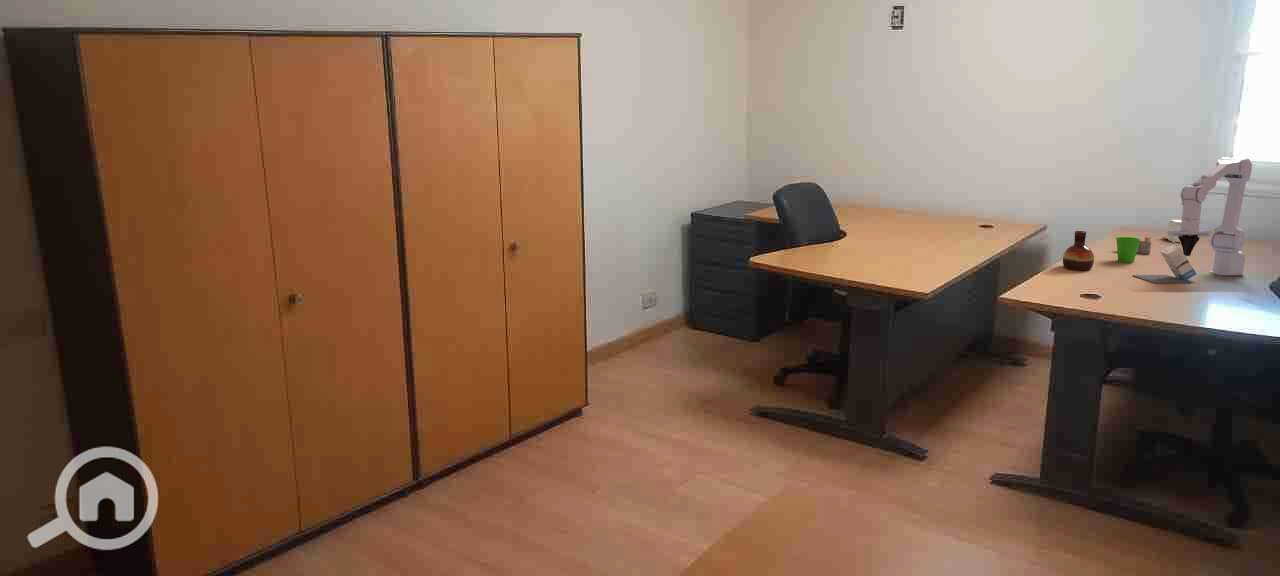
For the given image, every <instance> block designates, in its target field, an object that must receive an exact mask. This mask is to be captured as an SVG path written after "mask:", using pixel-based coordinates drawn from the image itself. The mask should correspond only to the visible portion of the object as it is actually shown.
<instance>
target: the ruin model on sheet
mask: <svg viewBox="0 0 1280 576" xmlns="http://www.w3.org/2000/svg"><path fill="white" fill-rule="evenodd" d="M1151 239H1152V237H1151V236H1145V237H1144V240H1140V241H1139V245H1138V248H1137V252H1136V254H1141V255H1149V254H1150V255H1151V249H1152V241H1151Z"/></svg>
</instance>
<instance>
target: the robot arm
mask: <svg viewBox="0 0 1280 576" xmlns="http://www.w3.org/2000/svg"><path fill="white" fill-rule="evenodd" d="M1252 169H1253V164H1252V162H1251V159H1249V158H1248V157H1247V158H1241V157H1240V158H1238V157H1219V159H1218V160H1217V161H1216V164H1215V167H1214V168H1213V170H1212V171H1210V173H1209V174H1202V175H1201V176H1200V177H1199V178H1198V179H1196V181H1194V182H1193V183H1191V185H1186V186H1184V187H1183V188H1182V189H1181V192H1180V199H1181V206H1182V212H1181V213H1182V215H1181V220H1182V221H1181V230H1170V231H1168V230H1167V234H1168V236H1178V238H1179V240H1180V242H1181V243H1180V244H1181V249H1182V252H1183V253H1184V255H1185V256H1186V257H1191V255H1192V252H1193V250H1194V248H1195V246H1196V244H1197V243H1198V242H1199V241H1200V237H1204V236H1205V237H1210V239H1209V241H1210V242H1209V243H1210V246H1211V248H1212V251H1214V255H1213V264H1212V270H1207V272H1208V273H1210V274H1213V275H1216V276H1244V275H1245V274H1244V270H1245V269H1244V267H1245V261H1246V260H1245V259H1246V258H1245V253H1243V251H1241V250H1242V249H1243V248H1244V246H1245V231H1244V230H1243V229H1242V228H1241V227H1239V226H1238V225H1239V220H1240V216H1241V209H1242V205H1243V200H1244V196H1245V194H1244V193H1245V191H1246V184H1247V182H1248V181H1250V179H1251V174H1252ZM1222 178H1223V180H1226V181H1227V182H1228V183H1229V186H1228V190H1227V191H1228V192H1227V194H1226V195H1227V197H1226V201H1225V205H1224V206H1225V207H1224V211H1223V217H1222V221H1221V224H1220V225H1219V226H1217V227H1215V228H1214V229H1213V233H1212V230H1209V229H1200V222H1201V212H1202V204H1203V202H1205V200H1206V198H1207V196H1208V195H1209V192H1210V191H1212V190H1213V189H1214V188H1215V187H1216V185H1217V181H1220V180H1221V179H1222ZM1211 233H1212V235H1211Z"/></svg>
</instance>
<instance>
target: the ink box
mask: <svg viewBox="0 0 1280 576" xmlns="http://www.w3.org/2000/svg"><path fill="white" fill-rule="evenodd" d="M1159 253H1160V254H1161V256H1162V257H1163V259H1164V260H1165V262H1166V263H1167V264H1166V265H1168V267H1169V268H1170V270H1171V272H1172V274H1173V275H1174V277H1176V278H1179V279H1182V280H1185V281H1187V280H1189V279H1191V278H1192V277H1195V276H1196V275H1197V272H1196V271H1195V269H1194V268H1193V266H1192V264H1191V263H1190V261H1189V260H1188V257H1187V256H1185V255H1184V253H1183V249H1182V247H1178V246H1176V245H1169V246H1167V247H1165V248H1163V249H1161V250H1160V252H1159Z"/></svg>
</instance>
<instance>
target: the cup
mask: <svg viewBox="0 0 1280 576" xmlns="http://www.w3.org/2000/svg"><path fill="white" fill-rule="evenodd" d="M1115 239H1116V251H1117V262H1119V263H1124V264H1133V263H1134V262H1135V259H1136V254H1137V253H1136V252H1137V248H1138V245H1139V241H1142V239H1141V238H1140V237H1136V236H1135V237H1134V236H1116V237H1115Z"/></svg>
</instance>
